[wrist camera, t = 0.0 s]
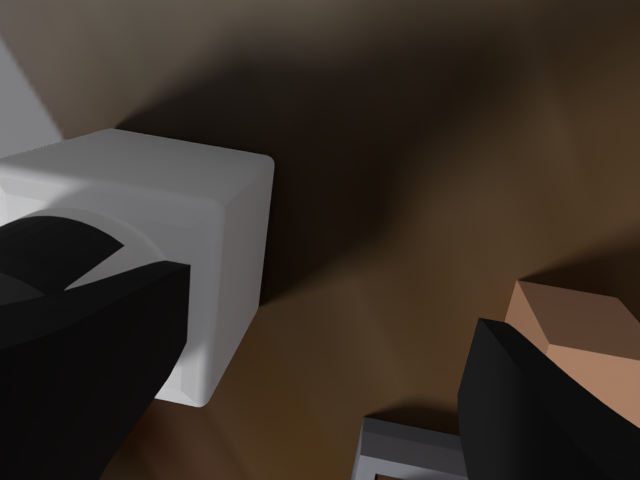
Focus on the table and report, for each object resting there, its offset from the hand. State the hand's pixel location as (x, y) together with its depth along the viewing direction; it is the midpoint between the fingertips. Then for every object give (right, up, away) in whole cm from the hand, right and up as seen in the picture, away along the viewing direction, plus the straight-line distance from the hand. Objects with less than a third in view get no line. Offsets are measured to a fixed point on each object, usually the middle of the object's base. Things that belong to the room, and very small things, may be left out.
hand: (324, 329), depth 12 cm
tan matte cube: (+10, -2, +10) cm, 14 cm away
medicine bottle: (-6, +3, +11) cm, 13 cm away
